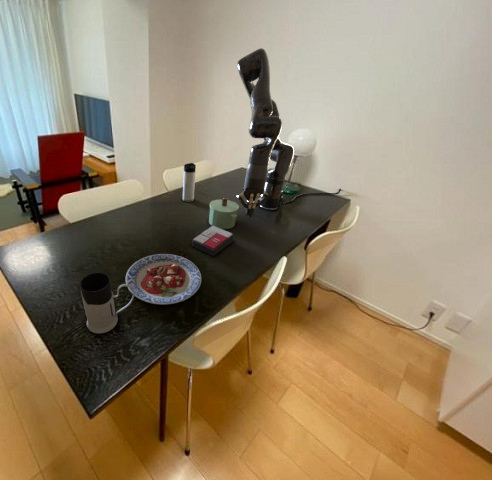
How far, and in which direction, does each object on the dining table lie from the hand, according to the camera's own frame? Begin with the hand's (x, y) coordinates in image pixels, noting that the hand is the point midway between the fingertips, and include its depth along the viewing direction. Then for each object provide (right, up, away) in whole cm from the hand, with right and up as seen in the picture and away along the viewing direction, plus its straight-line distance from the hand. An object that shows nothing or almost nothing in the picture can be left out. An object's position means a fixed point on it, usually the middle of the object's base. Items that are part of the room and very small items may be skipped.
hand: (248, 215), depth 107 cm
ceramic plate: (-34, -24, -16) cm, 45 cm away
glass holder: (-48, -33, -31) cm, 66 cm away
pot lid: (-7, +6, +16) cm, 18 cm away
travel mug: (-23, +13, +42) cm, 49 cm away
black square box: (-14, -12, +4) cm, 19 cm away
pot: (-7, -1, +20) cm, 22 cm away
